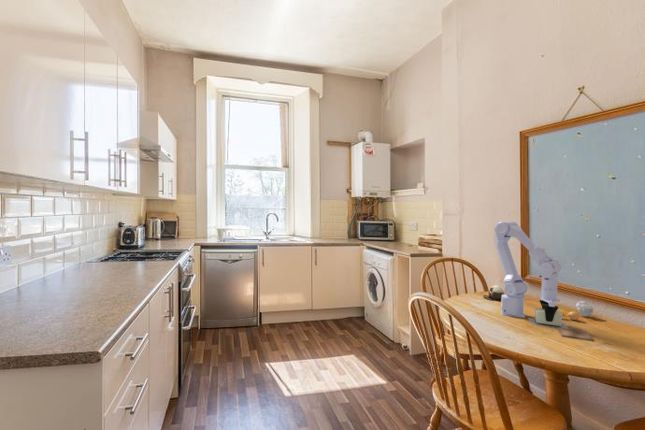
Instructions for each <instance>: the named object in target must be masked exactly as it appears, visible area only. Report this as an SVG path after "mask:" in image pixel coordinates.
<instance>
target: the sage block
mask: <svg viewBox="0 0 645 430" xmlns="http://www.w3.org/2000/svg"><path fill="white" fill-rule="evenodd" d="M534 319H535V320H536V322H537V323H543V324H550V325H557V326H562V323H563V322H562V321H563V317H562V314H561V311H560V310H557V311H556V313H555V315H554V318H553V321H552V322H549V321H546V317H545V310H544V309H542V308H540V307H539V308H538V307H534Z"/></svg>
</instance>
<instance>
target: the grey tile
mask: <svg viewBox="0 0 645 430" xmlns="http://www.w3.org/2000/svg"><path fill="white" fill-rule="evenodd" d="M527 319H528V322H529V324H530V325H532V326H533V325H535V326H541V327H542V326H543V327H547V328H553V329H556V327H559V328H567V329H570V328H569V326H568V325H567V324H566V322H562V326H557V325H550V324H543V323H537V322H536V320H535V318H532V317H527Z"/></svg>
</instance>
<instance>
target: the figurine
mask: <svg viewBox="0 0 645 430" xmlns="http://www.w3.org/2000/svg"><path fill="white" fill-rule="evenodd" d="M560 312H561V311H560ZM561 314H562V318H563V317H564V318H569V319H570V320H571V321H578V320H580V319H579V318H580V314H579V312H577V311H569V312H568V313H567V314H564V313H563V312H561Z"/></svg>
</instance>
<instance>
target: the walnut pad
mask: <svg viewBox="0 0 645 430" xmlns="http://www.w3.org/2000/svg"><path fill="white" fill-rule="evenodd" d="M555 329H556V331H557V332H558V333H559V335H560V336H561V337H565V338H570V339H577V340H582V341H583V340H584V341H591V342H594V338H593V337H592V336H591V335H590V334H589V332H587V331H586V330H579V329H572V328H569V329H567V328H559V327H556V328H555Z"/></svg>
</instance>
